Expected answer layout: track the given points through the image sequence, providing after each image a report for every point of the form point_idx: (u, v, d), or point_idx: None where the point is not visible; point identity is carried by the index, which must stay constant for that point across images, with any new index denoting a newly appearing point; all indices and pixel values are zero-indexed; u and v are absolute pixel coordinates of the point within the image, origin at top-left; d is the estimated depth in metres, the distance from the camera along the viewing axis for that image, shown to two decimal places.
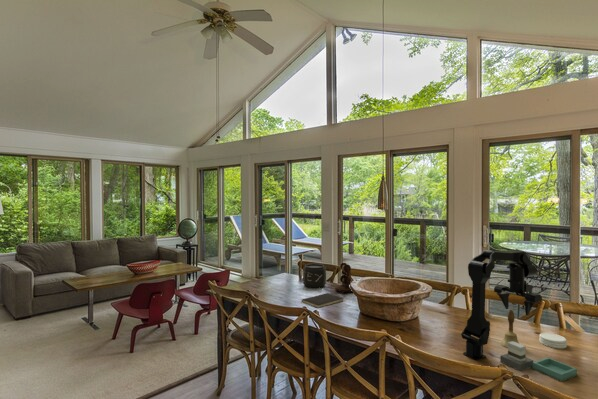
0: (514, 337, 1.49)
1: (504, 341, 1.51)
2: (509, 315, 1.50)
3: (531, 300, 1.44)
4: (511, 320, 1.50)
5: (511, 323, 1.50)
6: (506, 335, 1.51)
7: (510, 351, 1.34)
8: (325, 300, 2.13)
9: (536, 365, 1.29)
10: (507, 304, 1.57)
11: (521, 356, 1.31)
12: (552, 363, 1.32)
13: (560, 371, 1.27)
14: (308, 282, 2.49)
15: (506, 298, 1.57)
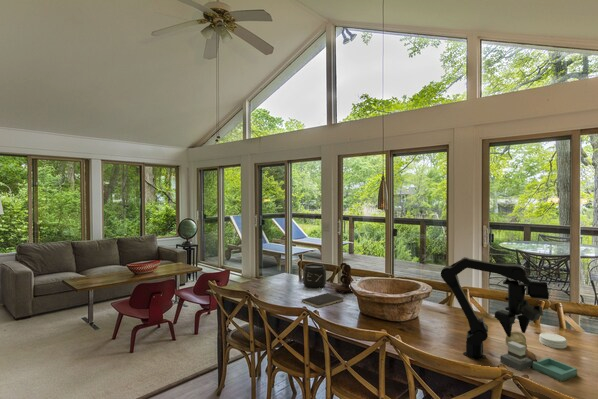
0: None
1: None
2: (529, 358, 1.33)
3: None
4: None
5: None
6: None
7: (510, 351, 1.34)
8: (325, 300, 2.13)
9: (536, 365, 1.29)
10: (523, 327, 1.35)
11: (521, 356, 1.31)
12: (552, 363, 1.32)
13: (560, 371, 1.27)
14: (308, 282, 2.49)
15: (523, 320, 1.36)
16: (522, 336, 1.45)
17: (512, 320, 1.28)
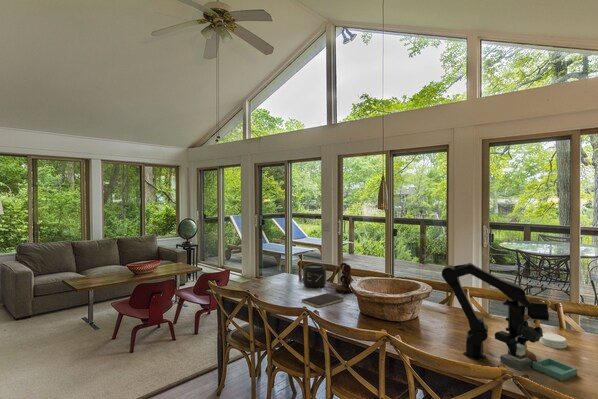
0: None
1: None
2: (529, 358, 1.33)
3: None
4: None
5: None
6: None
7: None
8: (325, 300, 2.13)
9: (536, 365, 1.29)
10: None
11: (521, 356, 1.31)
12: (552, 363, 1.32)
13: (560, 371, 1.27)
14: (308, 282, 2.49)
15: (519, 342, 1.34)
16: None
17: (512, 342, 1.28)
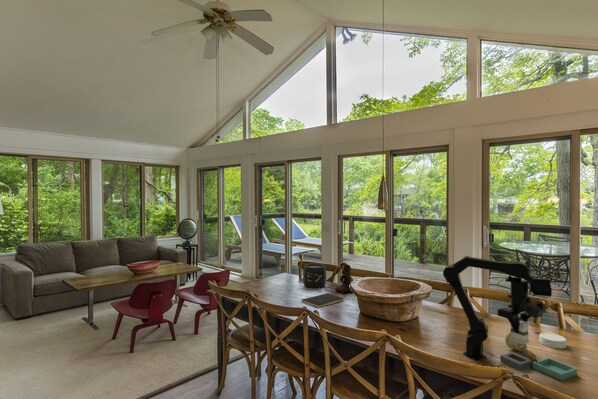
0: None
1: (510, 343, 1.45)
2: (529, 358, 1.33)
3: None
4: None
5: None
6: (515, 346, 1.42)
7: None
8: (325, 300, 2.13)
9: (536, 365, 1.29)
10: None
11: (523, 333, 1.30)
12: (552, 363, 1.32)
13: (560, 371, 1.27)
14: (308, 282, 2.49)
15: (522, 319, 1.34)
16: None
17: (515, 317, 1.27)
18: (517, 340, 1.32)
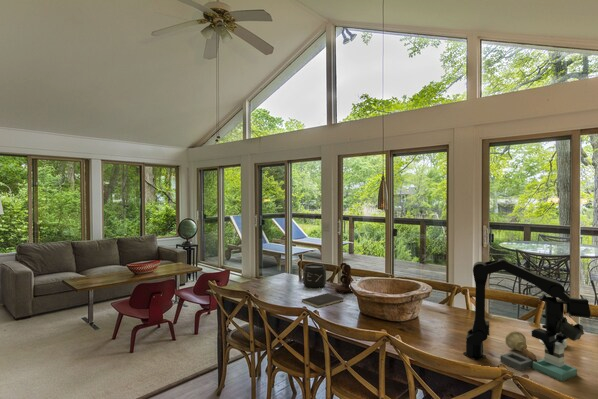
0: None
1: (510, 343, 1.45)
2: (529, 358, 1.33)
3: None
4: None
5: None
6: (515, 346, 1.42)
7: None
8: (325, 300, 2.13)
9: (536, 365, 1.29)
10: None
11: (559, 355, 1.25)
12: None
13: (560, 371, 1.27)
14: (308, 282, 2.49)
15: None
16: (522, 336, 1.45)
17: (551, 339, 1.22)
18: (552, 362, 1.27)
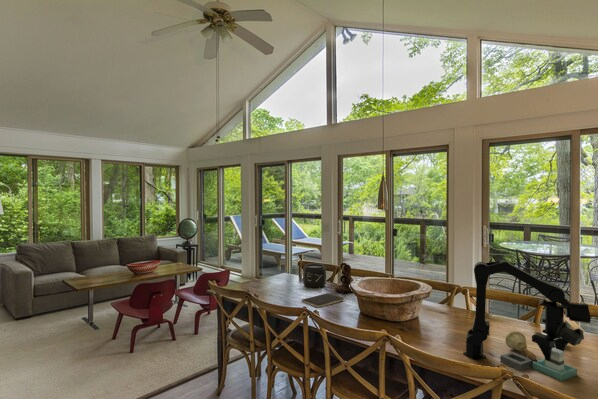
0: None
1: (510, 343, 1.45)
2: (529, 358, 1.33)
3: None
4: None
5: None
6: (515, 346, 1.42)
7: None
8: (325, 300, 2.13)
9: (536, 365, 1.29)
10: None
11: (560, 362, 1.25)
12: None
13: None
14: (308, 282, 2.49)
15: (560, 344, 1.29)
16: (522, 336, 1.45)
17: (552, 344, 1.22)
18: (552, 369, 1.27)
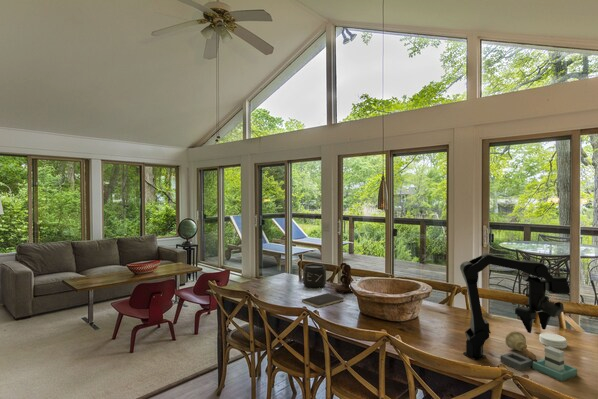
0: None
1: (510, 343, 1.45)
2: (529, 358, 1.33)
3: None
4: None
5: None
6: (515, 346, 1.42)
7: (547, 357, 1.28)
8: (325, 300, 2.13)
9: (536, 365, 1.29)
10: (543, 324, 1.37)
11: (560, 362, 1.25)
12: None
13: None
14: (308, 282, 2.49)
15: (544, 317, 1.37)
16: (522, 336, 1.45)
17: (533, 316, 1.29)
18: (552, 369, 1.27)
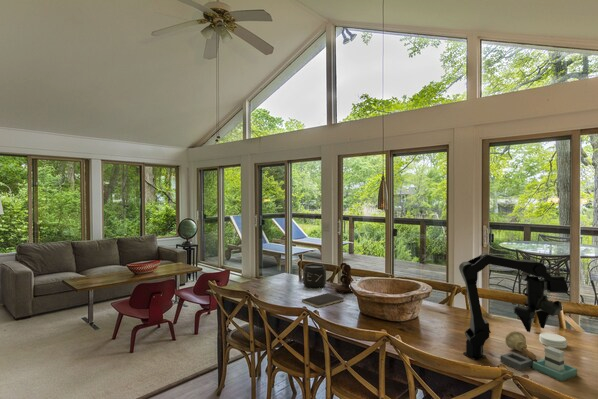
0: None
1: (510, 343, 1.45)
2: (529, 358, 1.33)
3: None
4: None
5: None
6: (515, 346, 1.42)
7: (547, 357, 1.28)
8: (325, 300, 2.13)
9: (536, 365, 1.29)
10: (542, 323, 1.37)
11: (560, 362, 1.25)
12: None
13: None
14: (308, 282, 2.49)
15: (542, 316, 1.38)
16: (522, 336, 1.45)
17: (532, 315, 1.30)
18: (552, 369, 1.27)
